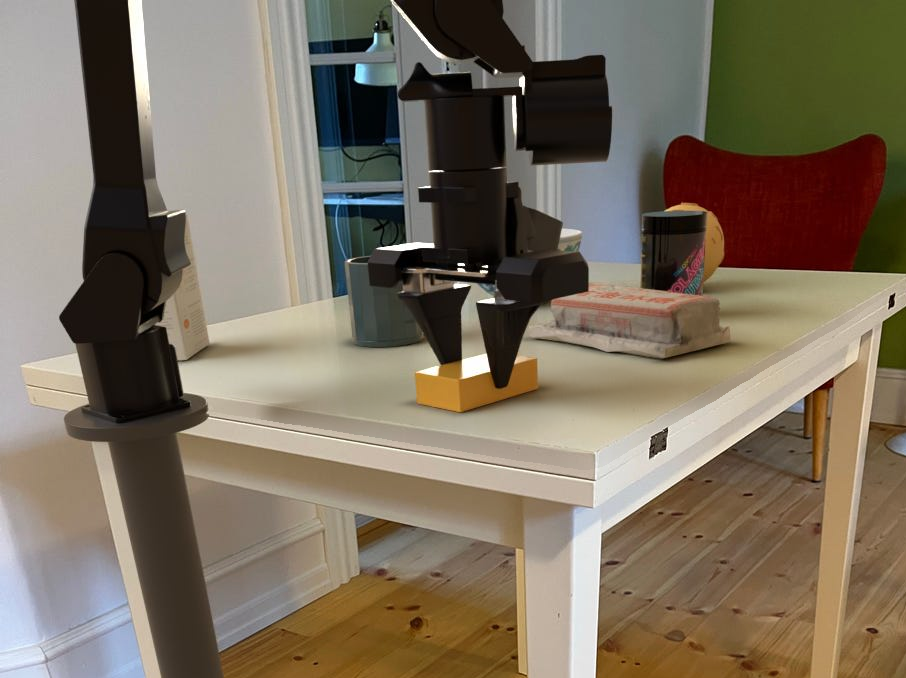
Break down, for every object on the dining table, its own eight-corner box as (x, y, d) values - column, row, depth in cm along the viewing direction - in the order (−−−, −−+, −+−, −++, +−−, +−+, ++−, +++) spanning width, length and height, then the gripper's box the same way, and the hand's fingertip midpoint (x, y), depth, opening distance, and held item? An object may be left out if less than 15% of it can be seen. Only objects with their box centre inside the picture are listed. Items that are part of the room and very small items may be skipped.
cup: (384, 350, 99) (377, 265, 95) (339, 342, 103) (330, 261, 100) (437, 337, 103) (432, 256, 100) (391, 331, 108) (385, 253, 104)
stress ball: (640, 296, 121) (642, 207, 116) (643, 284, 129) (645, 201, 125) (723, 294, 119) (729, 204, 114) (721, 282, 128) (726, 198, 123)
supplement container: (651, 324, 104) (655, 217, 99) (630, 314, 110) (632, 213, 105) (712, 319, 105) (718, 213, 100) (687, 310, 111) (692, 209, 106)
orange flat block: (460, 412, 76) (458, 379, 74) (416, 403, 79) (414, 372, 78) (538, 389, 81) (537, 358, 80) (494, 381, 84) (493, 351, 83)
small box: (153, 347, 106) (127, 215, 100) (211, 345, 106) (189, 212, 100) (125, 363, 99) (96, 223, 93) (187, 360, 99) (162, 219, 93)
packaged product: (738, 290, 91) (667, 306, 85) (734, 344, 93) (664, 362, 88) (596, 276, 103) (526, 289, 98) (596, 324, 106) (527, 339, 100)
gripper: (637, 161, 71) (632, 378, 79) (457, 164, 83) (467, 353, 90) (535, 171, 64) (539, 408, 72) (354, 173, 76) (374, 376, 84)
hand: (477, 383), depth 80 cm, fingers closed on orange flat block, 5 cm apart
